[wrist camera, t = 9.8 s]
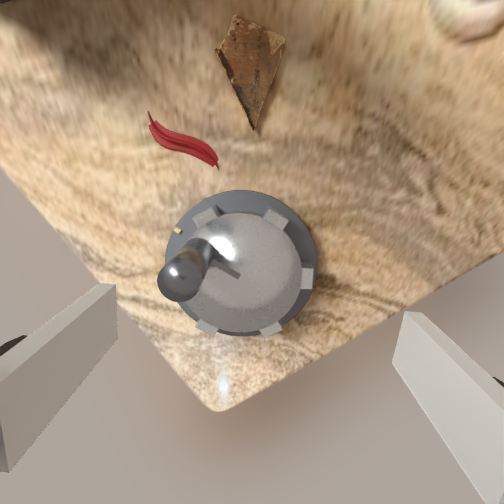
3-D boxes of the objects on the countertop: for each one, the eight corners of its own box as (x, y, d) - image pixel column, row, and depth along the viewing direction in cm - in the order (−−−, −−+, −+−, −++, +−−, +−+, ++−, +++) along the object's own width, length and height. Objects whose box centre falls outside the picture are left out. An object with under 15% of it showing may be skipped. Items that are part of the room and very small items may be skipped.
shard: (254, 132, 40) (253, 130, 38) (198, 108, 39) (195, 106, 38) (287, 42, 37) (288, 36, 35) (228, 15, 37) (226, 8, 35)
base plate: (167, 186, 42) (162, 187, 39) (322, 194, 42) (326, 196, 39) (170, 325, 47) (166, 333, 45) (307, 332, 47) (309, 341, 45)
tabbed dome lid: (153, 291, 44) (111, 342, 31) (218, 174, 39) (199, 180, 26) (259, 349, 46) (259, 419, 33) (333, 245, 41) (365, 281, 29)
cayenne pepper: (137, 120, 40) (131, 118, 38) (161, 93, 39) (156, 89, 37) (203, 189, 42) (200, 190, 40) (227, 165, 41) (225, 165, 39)
